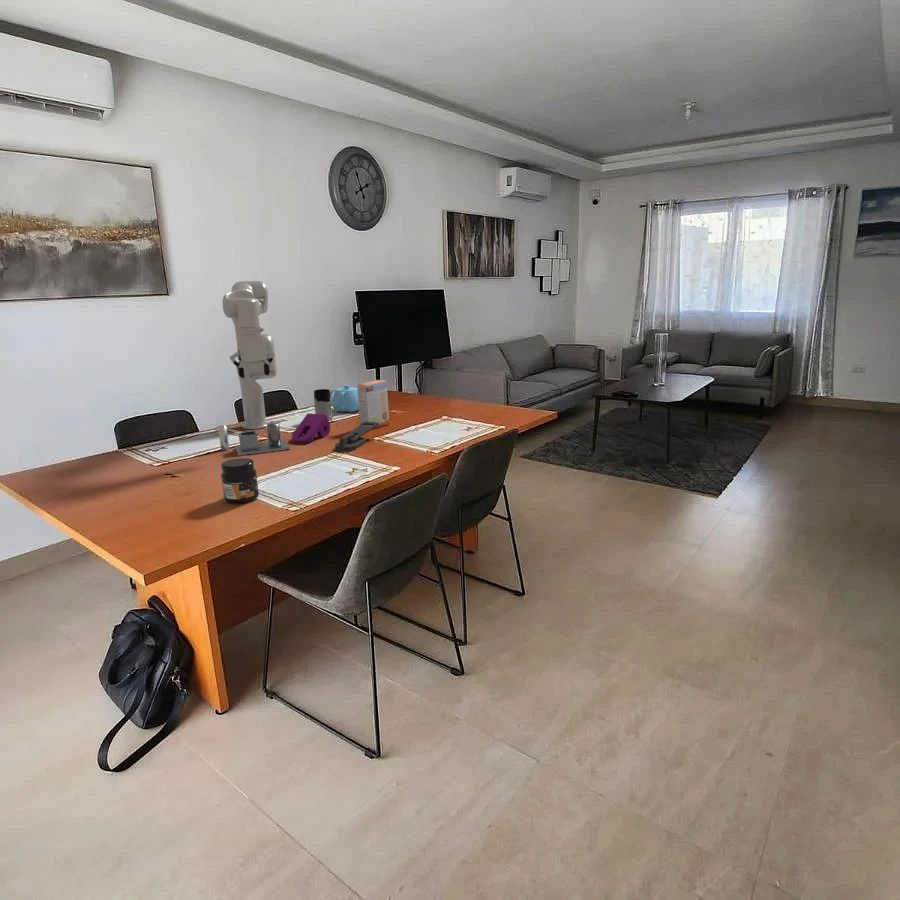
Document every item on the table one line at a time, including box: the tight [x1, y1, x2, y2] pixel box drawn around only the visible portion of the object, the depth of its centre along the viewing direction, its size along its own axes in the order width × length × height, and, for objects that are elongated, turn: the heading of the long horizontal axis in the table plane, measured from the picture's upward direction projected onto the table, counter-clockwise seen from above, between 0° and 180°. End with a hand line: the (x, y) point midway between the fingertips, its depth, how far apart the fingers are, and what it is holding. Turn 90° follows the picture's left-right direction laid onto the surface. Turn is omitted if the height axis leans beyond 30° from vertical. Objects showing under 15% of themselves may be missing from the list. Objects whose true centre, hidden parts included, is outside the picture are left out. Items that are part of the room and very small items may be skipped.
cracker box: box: [356, 379, 390, 430], centre depth 273 cm, size 14×6×21 cm, turn 144°
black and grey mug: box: [313, 388, 343, 421], centre depth 287 cm, size 9×14×15 cm, turn 96°
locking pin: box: [217, 424, 230, 452], centre depth 241 cm, size 3×3×10 cm
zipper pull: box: [334, 422, 379, 452], centre depth 247 cm, size 9×7×25 cm
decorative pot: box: [330, 384, 359, 414], centre depth 310 cm, size 16×16×14 cm
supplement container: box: [220, 457, 260, 505], centre depth 185 cm, size 10×10×12 cm
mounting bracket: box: [291, 413, 331, 444], centre depth 257 cm, size 10×8×18 cm
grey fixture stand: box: [234, 422, 291, 457], centre depth 241 cm, size 12×20×10 cm, turn 114°
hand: (254, 376), depth 233 cm, fingers open, 9 cm apart
